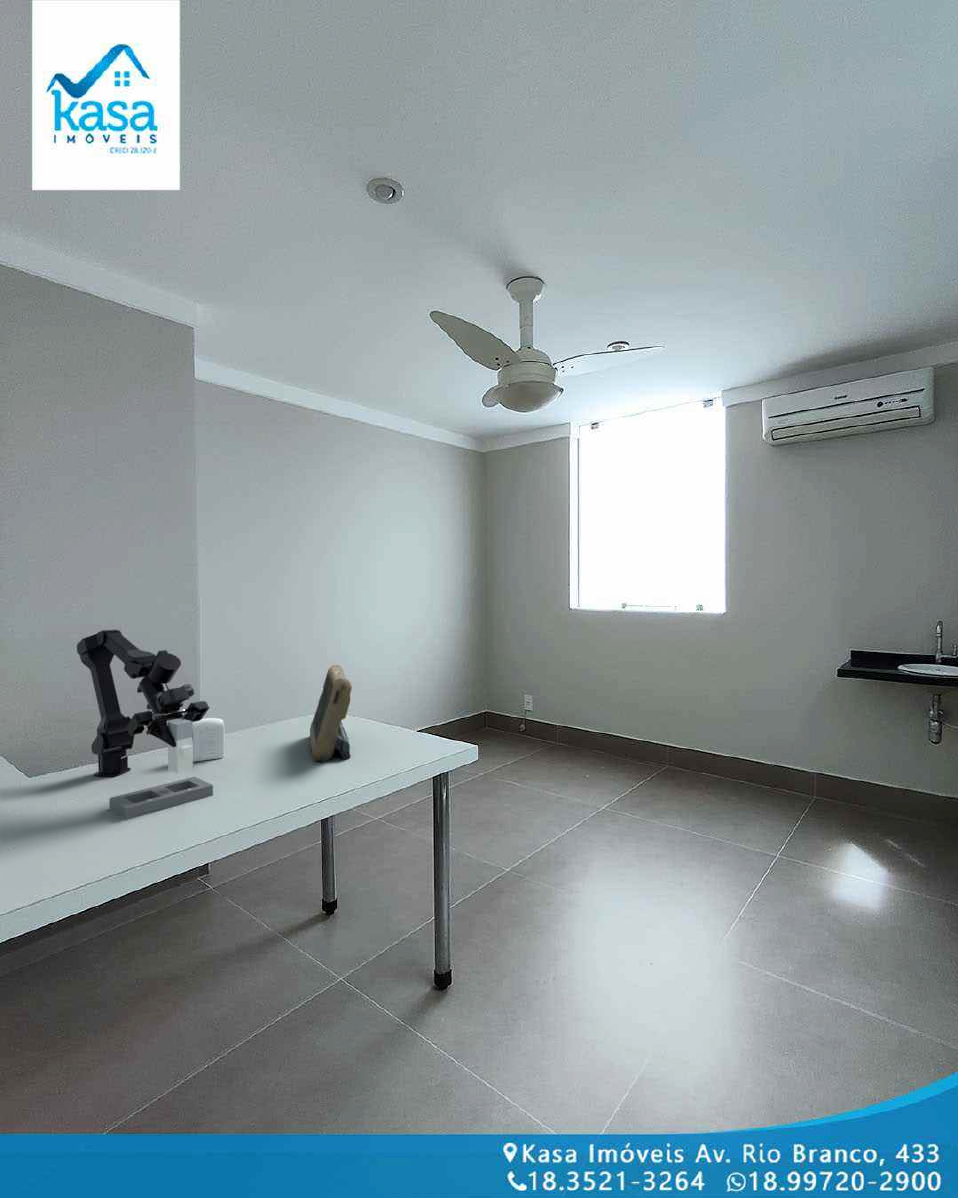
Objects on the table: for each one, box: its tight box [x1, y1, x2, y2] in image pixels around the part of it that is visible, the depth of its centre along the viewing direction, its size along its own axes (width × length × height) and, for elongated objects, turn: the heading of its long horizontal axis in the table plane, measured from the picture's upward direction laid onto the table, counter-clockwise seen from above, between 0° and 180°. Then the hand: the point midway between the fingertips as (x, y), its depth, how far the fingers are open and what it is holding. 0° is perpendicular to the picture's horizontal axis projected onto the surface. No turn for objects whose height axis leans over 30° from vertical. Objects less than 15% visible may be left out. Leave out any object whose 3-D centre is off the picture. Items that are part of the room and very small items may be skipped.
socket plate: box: [108, 776, 214, 820], centre depth 144 cm, size 10×20×3 cm, turn 141°
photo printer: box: [192, 717, 225, 763], centre depth 178 cm, size 10×4×12 cm, turn 123°
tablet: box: [309, 664, 353, 763], centre depth 191 cm, size 33×14×25 cm, turn 23°
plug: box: [167, 719, 194, 774], centre depth 147 cm, size 5×4×12 cm
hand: (183, 744), depth 146 cm, fingers closed on plug, 4 cm apart
